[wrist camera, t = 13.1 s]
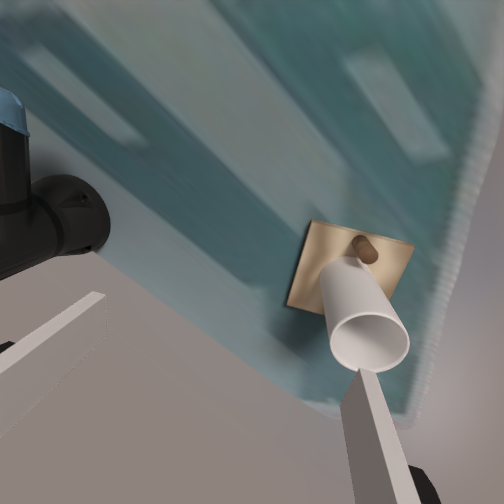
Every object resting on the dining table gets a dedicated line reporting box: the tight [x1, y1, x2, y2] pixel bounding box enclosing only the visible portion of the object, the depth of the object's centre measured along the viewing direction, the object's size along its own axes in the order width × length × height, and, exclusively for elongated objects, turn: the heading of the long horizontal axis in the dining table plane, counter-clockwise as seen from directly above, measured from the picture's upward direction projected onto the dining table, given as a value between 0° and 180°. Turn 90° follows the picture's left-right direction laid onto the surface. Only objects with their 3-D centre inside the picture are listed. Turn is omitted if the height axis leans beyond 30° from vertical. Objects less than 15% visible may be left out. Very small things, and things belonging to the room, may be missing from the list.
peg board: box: [287, 219, 415, 315], centre depth 41 cm, size 16×16×8 cm
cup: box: [320, 256, 409, 373], centre depth 35 cm, size 8×8×16 cm
